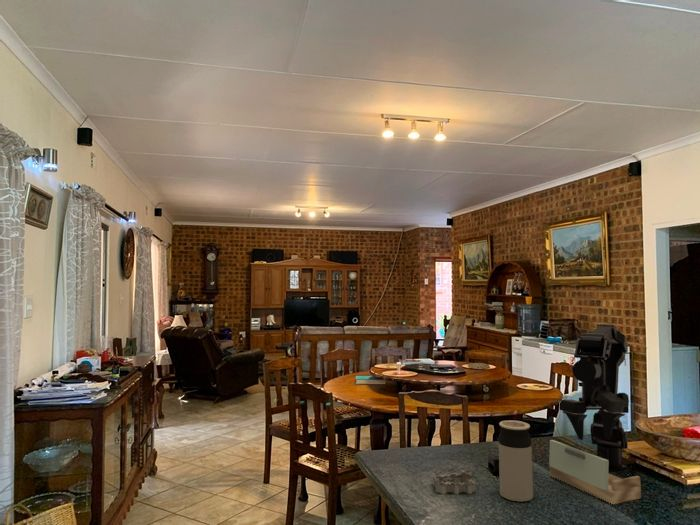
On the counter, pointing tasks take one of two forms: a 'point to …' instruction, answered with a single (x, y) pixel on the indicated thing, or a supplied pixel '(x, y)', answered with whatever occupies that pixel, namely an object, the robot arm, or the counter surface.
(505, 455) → the travel mug
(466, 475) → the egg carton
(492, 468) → the build plate
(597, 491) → the cart bed
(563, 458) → the panel
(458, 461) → the counter surface
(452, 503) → the counter surface
